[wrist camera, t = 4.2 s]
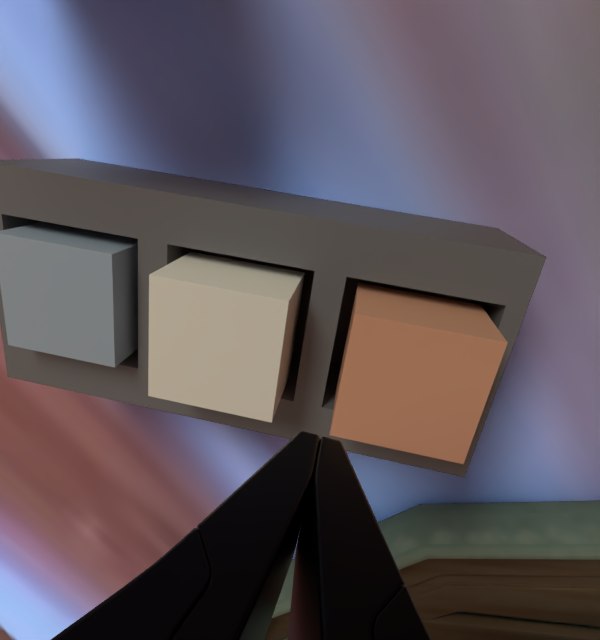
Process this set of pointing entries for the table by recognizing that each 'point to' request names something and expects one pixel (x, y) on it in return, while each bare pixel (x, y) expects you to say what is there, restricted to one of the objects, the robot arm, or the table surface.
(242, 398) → the white key
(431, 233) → the keypad
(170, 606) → the robot arm
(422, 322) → the terracotta key
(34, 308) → the slate blue key
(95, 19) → the table surface
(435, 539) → the tea set
